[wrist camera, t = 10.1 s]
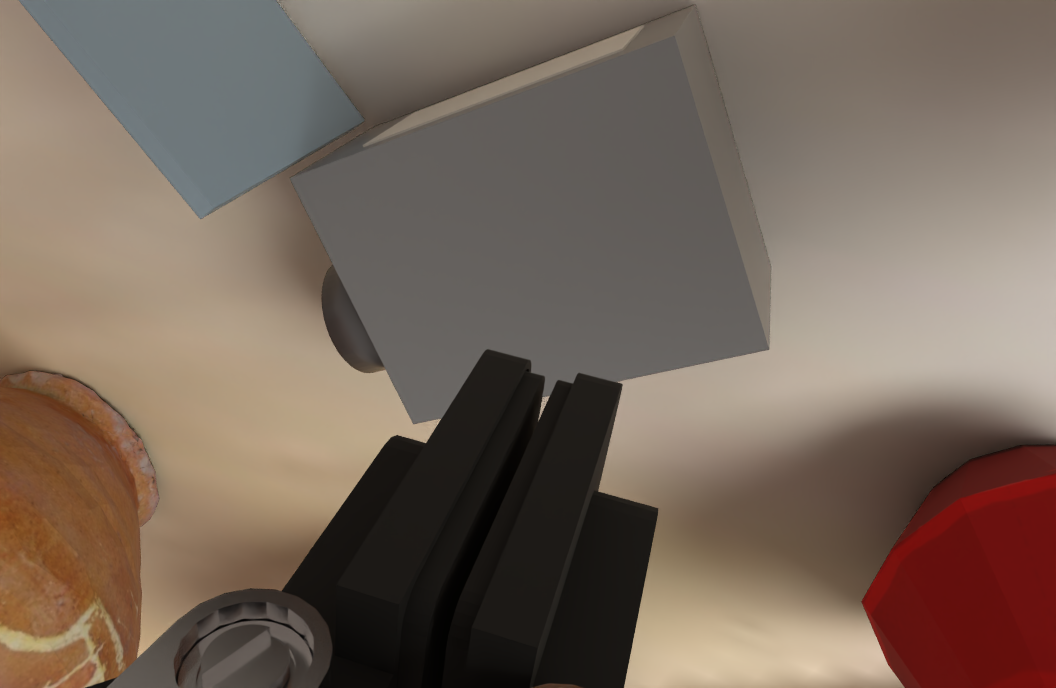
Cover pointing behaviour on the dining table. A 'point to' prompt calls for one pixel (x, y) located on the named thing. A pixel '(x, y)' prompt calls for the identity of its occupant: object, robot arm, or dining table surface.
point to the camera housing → (547, 225)
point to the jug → (68, 534)
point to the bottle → (975, 579)
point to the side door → (204, 86)
